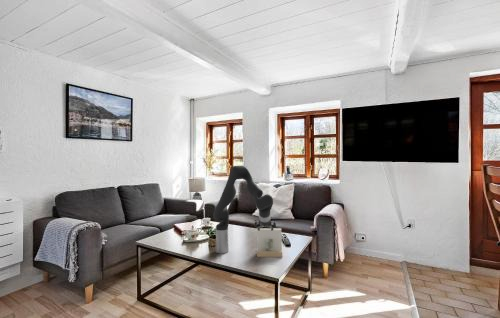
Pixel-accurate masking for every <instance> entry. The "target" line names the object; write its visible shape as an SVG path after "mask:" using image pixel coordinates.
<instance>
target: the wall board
mask: <svg viewBox="0 0 500 318" xmlns="http://www.w3.org/2000/svg"><path fill="white" fill-rule="evenodd" d="M282 238H283V237H282V228H273V230H272V231H271V228H260V231H259V230H258V228H256V243H257V245H256V246H257V247H256V248H257V251H256V257H257V258H283V247H282V246H283V244H282V240H283V239H282ZM266 239H273V251H266Z"/></svg>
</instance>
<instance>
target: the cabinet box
mask: <svg viewBox="0 0 500 318" xmlns="http://www.w3.org/2000/svg"><path fill="white" fill-rule="evenodd" d="M266 251H273V239H266Z"/></svg>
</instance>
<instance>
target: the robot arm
mask: <svg viewBox="0 0 500 318" xmlns="http://www.w3.org/2000/svg"><path fill="white" fill-rule="evenodd" d="M238 180H244V181H245V182H246V190H247V192H248V193H249V194H250V196H251V197H252V199H253V200H254V204H255V207H256V208H257V209H258V220H256V219H254V228H256V229H258V230H259V231H260V229H262V227H267V228H268V229H271V231H272V230H273V229H277V223H276V221H277V220H276V219H274V220H271V219H272V218H271V217H272V215H271V210H272V209H273V205H274V199H273V197H272V195H270V194H269V193H268V194H264V192H263V190H262V189H261V188H260V187H259V185H258V184H257V183H256V181H255V179H254V178H253V176H252V174H251V172H250V171H249V169H248V168H247V167H246V166H245V165H233V166H232V167H231V168H230V170H229V173H228V176H227V180H226V181H227V182H226V183H225V186H224V188H223V191H222V193H221V196H220V199H218V203H217V205H216V206H215V208H214V210H213V214H212V218H213V220H214V221H217V222H219V221H220V222H219V223H217V224H216V225H215V237H216V238H215V239H214V240H215V253H217V254H227V253H228V252H229V225H230V224H229V223H230V222H229V220H230V213H229V210H228V206H230V204H232V202H233V201H234V199H235V198H236V194H237V190H236V187H235V183H236V181H238Z"/></svg>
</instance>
